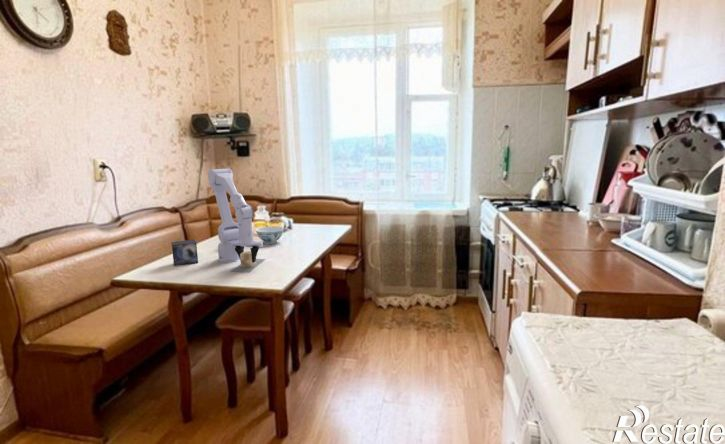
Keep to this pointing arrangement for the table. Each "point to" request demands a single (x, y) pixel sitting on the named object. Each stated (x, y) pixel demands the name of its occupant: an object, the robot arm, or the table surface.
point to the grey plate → (247, 269)
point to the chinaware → (270, 234)
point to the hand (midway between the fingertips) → (248, 261)
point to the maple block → (246, 259)
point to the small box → (184, 252)
